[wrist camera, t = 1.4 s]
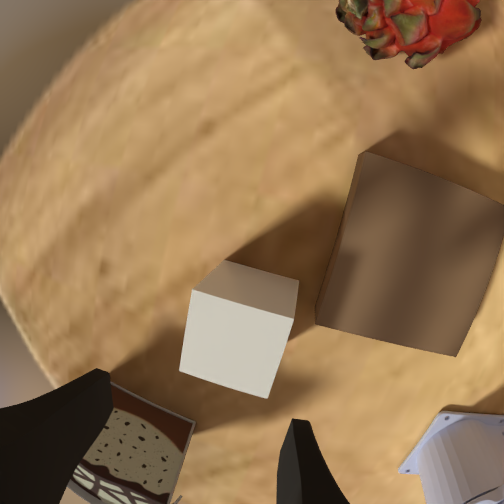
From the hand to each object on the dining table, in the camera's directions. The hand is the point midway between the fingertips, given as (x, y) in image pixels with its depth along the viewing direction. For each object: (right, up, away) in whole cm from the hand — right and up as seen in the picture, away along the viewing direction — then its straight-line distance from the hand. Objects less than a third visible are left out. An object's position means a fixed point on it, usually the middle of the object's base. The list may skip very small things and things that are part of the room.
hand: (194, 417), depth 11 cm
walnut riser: (+12, +6, +8) cm, 16 cm away
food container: (-8, -10, +15) cm, 20 cm away
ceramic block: (+2, +3, +10) cm, 11 cm away
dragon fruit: (+12, +22, +4) cm, 26 cm away
